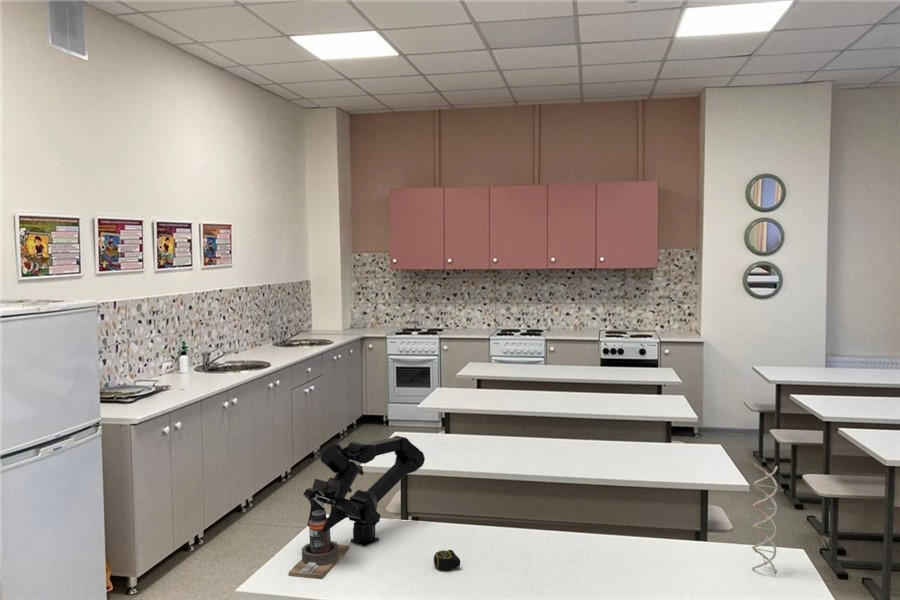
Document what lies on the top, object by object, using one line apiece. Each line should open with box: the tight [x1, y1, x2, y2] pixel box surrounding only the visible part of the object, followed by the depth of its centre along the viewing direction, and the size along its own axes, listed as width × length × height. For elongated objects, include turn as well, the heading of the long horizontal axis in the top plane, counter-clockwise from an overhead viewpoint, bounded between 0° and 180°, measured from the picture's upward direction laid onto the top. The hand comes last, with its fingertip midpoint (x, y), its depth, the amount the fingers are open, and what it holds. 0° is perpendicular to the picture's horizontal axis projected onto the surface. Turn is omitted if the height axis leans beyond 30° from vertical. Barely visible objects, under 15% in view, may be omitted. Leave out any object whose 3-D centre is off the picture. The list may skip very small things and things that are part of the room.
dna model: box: [751, 462, 779, 574], centre depth 192 cm, size 7×6×30 cm
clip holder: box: [288, 540, 350, 580], centre depth 203 cm, size 20×10×4 cm, turn 167°
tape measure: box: [433, 549, 461, 571], centre depth 199 cm, size 7×7×4 cm
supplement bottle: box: [308, 510, 332, 554], centre depth 203 cm, size 6×6×11 cm
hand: (316, 529), depth 202 cm, fingers closed on supplement bottle, 6 cm apart
